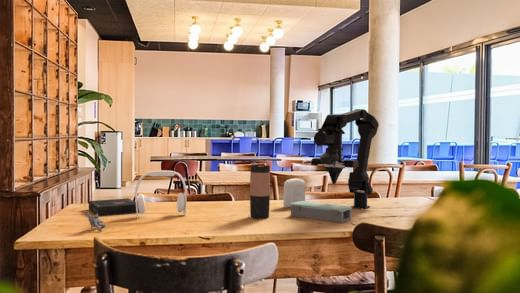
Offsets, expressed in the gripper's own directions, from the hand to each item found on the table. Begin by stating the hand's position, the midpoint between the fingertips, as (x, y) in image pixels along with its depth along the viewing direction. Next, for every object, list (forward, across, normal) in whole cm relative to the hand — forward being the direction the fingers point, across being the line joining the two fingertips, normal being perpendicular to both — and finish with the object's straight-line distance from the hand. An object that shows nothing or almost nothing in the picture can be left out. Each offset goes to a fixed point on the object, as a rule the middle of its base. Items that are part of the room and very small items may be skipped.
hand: (333, 183), depth 193 cm
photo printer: (+12, -21, +4) cm, 25 cm away
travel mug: (+12, -19, -25) cm, 34 cm away
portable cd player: (+13, -73, -51) cm, 90 cm away
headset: (+12, -50, -47) cm, 70 cm away
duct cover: (+9, 0, -12) cm, 15 cm away
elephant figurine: (+12, -50, -77) cm, 93 cm away
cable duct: (+12, 0, -11) cm, 16 cm away
